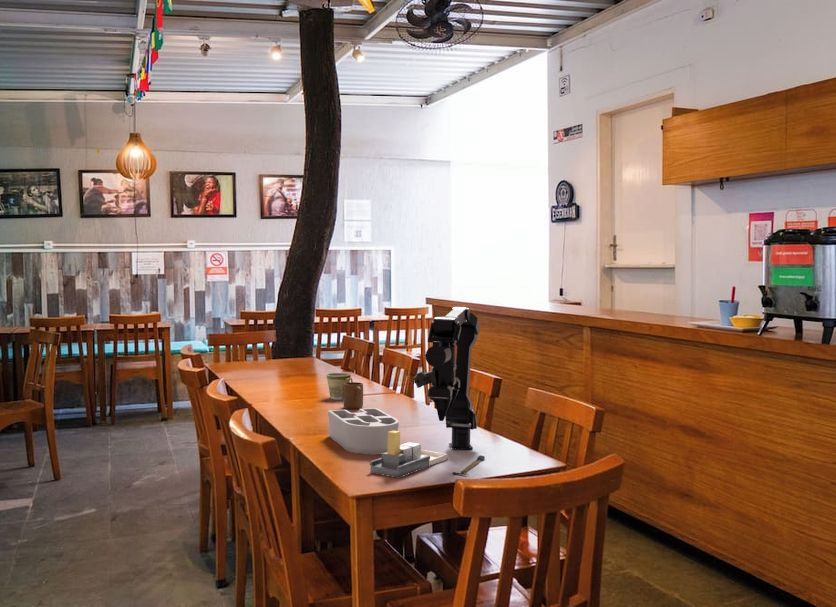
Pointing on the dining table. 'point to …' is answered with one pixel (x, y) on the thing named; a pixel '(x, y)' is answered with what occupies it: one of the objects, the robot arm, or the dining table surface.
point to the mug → (353, 395)
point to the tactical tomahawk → (470, 466)
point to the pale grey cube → (406, 453)
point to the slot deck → (399, 467)
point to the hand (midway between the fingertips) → (444, 417)
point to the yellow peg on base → (393, 451)
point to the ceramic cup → (337, 384)
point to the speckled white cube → (414, 450)
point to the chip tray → (434, 456)
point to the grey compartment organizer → (362, 430)
